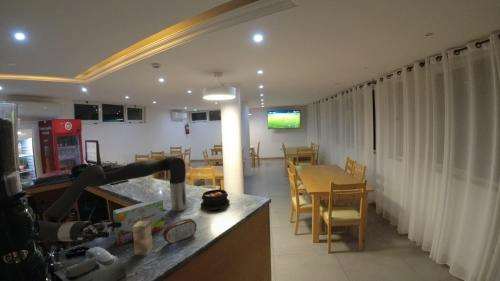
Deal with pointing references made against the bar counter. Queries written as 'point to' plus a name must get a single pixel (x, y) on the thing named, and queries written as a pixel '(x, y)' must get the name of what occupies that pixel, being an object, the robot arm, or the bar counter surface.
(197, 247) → the bar counter surface
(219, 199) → the casserole
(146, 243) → the beech block
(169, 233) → the tin
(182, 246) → the bar counter surface
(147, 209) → the snack box
